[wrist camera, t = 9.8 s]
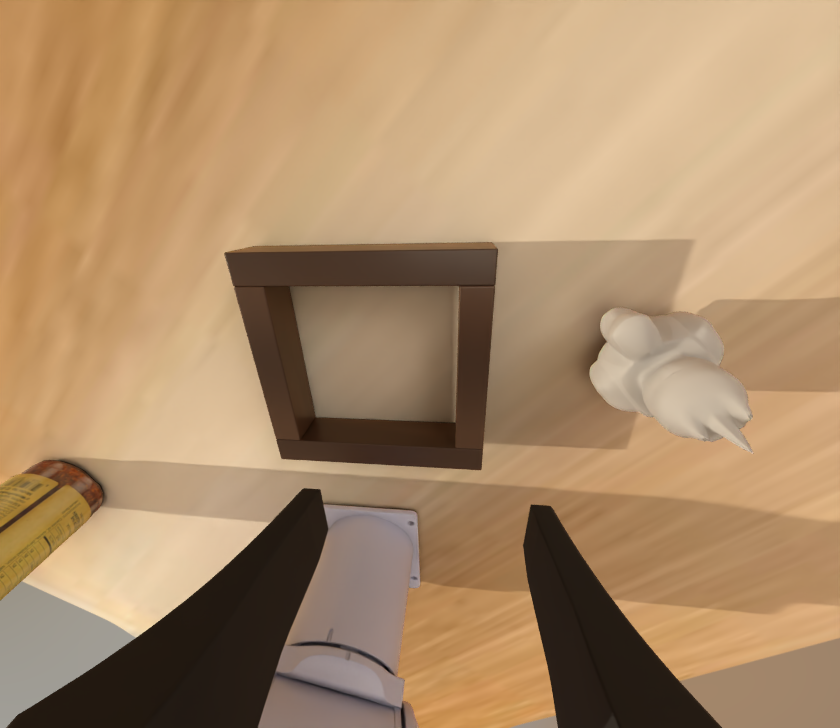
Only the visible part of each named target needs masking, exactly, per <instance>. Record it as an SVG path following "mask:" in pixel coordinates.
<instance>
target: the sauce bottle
mask: <svg viewBox="0 0 840 728" xmlns="http://www.w3.org/2000/svg"><path fill="white" fill-rule="evenodd" d="M102 500H103V493H102V490H101V487H100V485H99V484H98V483H96V482H95V481H94V480H93V479H92V478H91V477H89V476H88V475H87V474H86V472H84V471H83V470H81V469H80V468H77V467H75V466H73V465H71V464H68V463H64V462H62V461H56V460H48V461H42V462H40V463H37V464H35V465H33V466H32V467H30V468H29V469H27V470H26V471H24V472H22V473H21V474H19V475H15V476H13V477H11V478H10V479H8V480H7V481H5V482H4V483H2V484H1V485H0V600H2V599H3V598H4V597H5V596H6V595H7V594H8V593H9V592H10V591H11V590H12V589H14V588H15V587H16V586H17V585H18V584H19V583H20V582H21V581H22V580H23V579H24V578H25V577H27V576H28V575H29V574H30V573H31V572H32V571H33V570H34V569H35V568H36V567H37V566H39V565H40V564H41V563H42V562H43V561H44V560H45V559H46V558H47V557H48V556H49V555H50V554H51V553H52V552H54V551H55V550H56V549H57V548H58V547H59V546H60V545H61V544H62V543H63V542H65V541H66V540H67V539H68V538H69V537H70V536H71V535H72V534H73V533H74V532H76V531H77V530H78V529H79V528H80V527H81V526H82V525H83V524H84V523H85V522H86V521H87V520H88V519H89V518H90V517H91V516H92V514H93V513H94V512H96V511H97V510H98V509H99V507H100V506H101V503H102Z"/></svg>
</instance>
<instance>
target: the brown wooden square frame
mask: <svg viewBox="0 0 840 728" xmlns="http://www.w3.org/2000/svg"><path fill="white" fill-rule="evenodd" d="M224 254H225V258H226V261H227V265H228V269H229V272H230V276H231V279H232V283H233V286H235V287H234V290H235V293H236V297H237V300H238V304H239V307H240V311H241V315H242V318H243V322H244V325H245V329H246V332H247V336H248V340H249V343H250V347H251V350H252V354H253V358H254V361H255V365H256V368H257V372H258V375H259V379H260V383H261V386H262V390H263V393H264V397H265V401H266V404H267V408H268V411H269V415H270V418H271V422H272V426H273V429H274V433H275V436H276V439H277V444H278V447H279V451H280V455H281V458H282V459H293V460H310V461H328V462H346V463H363V464H381V465H399V466H416V467H434V468H452V469H469V470H481V469H482V455H483V442H484V428H485V415H486V401H487V388H488V375H489V361H490V348H491V335H492V321H493V308H494V294H495V286H494V285H495V281H496V268H497V255H498V249H497V248H496V247H495V245H494V244H493V243H492V242H482V243H422V244H362V245H301V246H253V247H248V248H244V249H239V250H234V251H230V252H226V253H224ZM289 286H459V315H458V353H457V391H456V423H438V422H414V421H390V420H366V419H342V418H318V417H315V412H314V407H313V402H312V397H311V392H310V387H309V382H308V378H307V373H306V368H305V363H304V358H303V353H302V348H301V343H300V338H299V334H298V329H297V324H296V319H295V314H294V309H293V304H292V299H291V294H290V290H289Z"/></svg>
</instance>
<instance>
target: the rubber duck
mask: <svg viewBox="0 0 840 728" xmlns="http://www.w3.org/2000/svg"><path fill="white" fill-rule="evenodd" d="M600 330H601V333H602V335H603V337H604V338H605V339H606V341H607V342H606V343H605V345H604V346H603V348H602V349H601V351H600V353H599V355H598V359H597V361H596V362H595V363H593V364H592V366H591V368H590V373H589V374H590V379H591V381H592V383H593V385H594V387H595V389H596V390H597V392H598V393H599V394H600V395H601V396H602V397H603V399H604V400H605V401H606V402H607V403H608V404H609V405H611V406H612V407H614V408H616V409H619V410H622V411H628V412H640V413H641V414H643V415H645V416H647V417H654V418H655V419H656V420H657V421H658V422H659V423H660V424H661V425H662V426H663V427H664V428H665V429H666V430H667V431H669V432H670V433H672V434H674V435H677V436H680V437H684V438H694V439H698V440H701V441H710V442H713V441H716V440H719V439H721V438H723V437H724V438H726V439H727V440H729V441H730V442H732V443H734V444H735V445H737V446H739V447H741V448H742V449H744V450H747V451H749V452H751V453H753V451H752V449H751V447H750V445H749V443H748V442H747V440H746V438H745V437H744V435H743V434H742V432H741V431H740V430H739V429H741V428H742V427H744V426H745V424H746V423H747V422H748V421H750V420H751V419H752V418H753V415H752V412H751V409H750V407H749V405H748V396H747V392H746V390H745V388H744V386H743V384H742V383H741V382H740V381H739V380H738V379H737V378H736V377H735V376H733V375H732V374H730V373H729V372H727V371H726V370H724V369H722V368H721V367H719V365H720V363H721V361H722V358H723V355H724V345H723V342H722V340H721V338H720V336H719V335H718V333H717V332H716V330H715V329H714V327H713V326H712V324H711V323H710V322H709V321H708V320H707V319H705V318H703V317H701V316H698V315H695V314H692V313H688V312H672V313H669V314H667V315H657V316H651V317H648V316H647V315H646V314H642V313H637V312H635V311H633V310H631V309H628V308H622V307H617V308H613V309H611V310H609V311H608V312H606V313H605V314H604V316H603V317H602V319H601V322H600ZM753 454H754V453H753Z"/></svg>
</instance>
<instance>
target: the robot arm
mask: <svg viewBox="0 0 840 728" xmlns="http://www.w3.org/2000/svg"><path fill="white" fill-rule="evenodd" d="M523 547H524V555H525V563H526V571H527V578H528V583H529V588H530V592H531V596H532V601H533V605H534V610H535V614H536V618H537V622H538V627H539V631H540V635H541V640H542V644H543V648H544V652H545V657H546V661H547V665H548V670H549V675H550V680H551V686H552V692H553V699H554V705H555V711H556V718H557V724H558V728H722V727H721V726H720V725H719V724H718V723H717V722H716V721H715V720H714V718H713V717H712V716H711V715H710V714H709V713H708V712H707V711H706V710H705V709H704V708H703V707H702V705H701V704H700V703H699V702H698V701H697V700H696V699H695V698H694V697H693V696H692V695H691V694H690V693H689V691H688V690H687V689H686V688H685V687H684V686H683V685H682V684H681V683H680V682H679V681H678V679H677V678H676V677H675V676H674V675H673V674H672V672H671V671H670V670H669V669H668V668H667V667H666V666H665V664H664V663H663V662H662V661H661V660H660V659H659V657H658V656H657V655H656V654H655V653H654V652H653V650H652V649H651V648H650V647H649V645H648V644H647V643H646V642H645V641H644V639H643V638H642V637H641V636H640V635H639V633H638V632H637V631H636V630H635V628H634V627H633V626H632V625H631V623H630V622H629V621H628V619H627V618H626V617H625V616H624V614H623V613H622V612H621V610H620V609H619V608H618V606H617V605H616V604H615V602H614V601H613V600H612V598H611V597H610V596H609V594H608V593H607V592H606V590H605V589H604V587H603V586H602V585H601V583H600V582H599V580H598V579H597V577H596V576H595V575H594V573H593V572H592V570H591V569H590V567H589V566H588V564H587V563H586V561H585V560H584V559H583V557H582V555H581V554H580V552H579V551H578V549H577V548H576V546H575V545H574V543H573V542H572V540H571V538H570V537H569V535H568V534H567V532H566V530H565V529H564V527H563V525H562V524H561V522H560V520H559V519H558V517H557V515H556V513H555V512H554V510H553V508H552V507H551V506H543V505H531V507H530V512H529V517H528V523H527V528H526V533H525V539H524V544H523ZM419 586H420V561H419V538H418V515H417V513H416V512H414V511H411V510H398V509H384V508H369V507H355V506H341V505H327V504H323V500H322V495H321V490H320V489H307V488H304V489H302V490H301V491H300V492H299V493H298V494H297V495H296V496H295V498H294V499H293V500H292V501H291V502H290V503H289V504H288V505H287V506H286V507H285V508H284V509H283V510H282V511H281V512H280V513H279V514H278V515H277V516H276V518H275V519H274V520H273V521H272V522H271V523H270V524H269V525H268V526H267V527H266V528H265V529H264V530H263V531H262V532H261V533H260V534H259V535H258V536H257V537H256V538H255V539H254V540H253V541H252V542H251V543H250V544H249V545H248V546H247V547H246V548H245V549H244V550H242V551H241V552H240V553H239V554H238V555H237V556H236V557H235V558H234V559H233V560H232V561H231V562H230V563H229V564H227V565H226V566H225V567H224V568H223V569H222V570H221V571H220V572H219V573H217V574H216V575H215V576H214V577H213V578H212V579H211V580H210V581H208V582H207V583H206V584H205V585H204V586H202V587H201V588H200V589H199V590H198V591H196V592H195V593H194V594H193V595H192V596H190V597H189V598H188V599H187V600H186V601H184V602H183V603H182V604H180V605H179V606H178V607H177V608H175V609H174V610H173V611H171V612H170V613H169V614H168V615H166V616H165V617H164V618H162V619H161V620H160V621H158V622H157V623H156V624H155V625H153V626H152V627H151V628H149V629H148V630H146V631H145V632H144V633H142V634H141V635H140V636H138V637H137V638H135V639H134V640H132V641H131V642H130V643H128V644H127V645H125V646H124V647H122V648H121V649H119V650H118V651H117V652H115V653H114V654H112V655H111V656H109V657H108V658H107V659H105V660H104V661H102V662H101V663H99V664H98V665H96V666H95V667H93V668H92V669H90V670H89V671H87V672H86V673H84V674H83V675H81V676H80V677H78V678H76V679H75V680H73V681H72V682H70V683H68V684H67V685H65V686H64V687H62V688H61V689H59V690H57V691H56V692H54V693H52V694H51V695H49V696H48V697H46V698H44V699H43V700H41V701H40V702H38V703H37V704H35V705H33V706H32V707H30V708H28V709H27V710H25V711H23V712H22V713H20V714H18V715H17V716H16V717H15V719H14V720H13V721H12V722H11V723H10V724H9V725H8V726H7V727H6V728H419V726H418V723H417V721H416V718H415V715H414V711H413V708H412V706H411V704H409V703H408V702H406V701H402V699H403V691H404V682H405V680H404V679H402V678H399V677H397V673H398V666H399V658H400V650H401V643H402V635H403V627H404V619H405V612H406V604H407V596H408V589H409V588H418V587H419Z"/></svg>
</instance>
